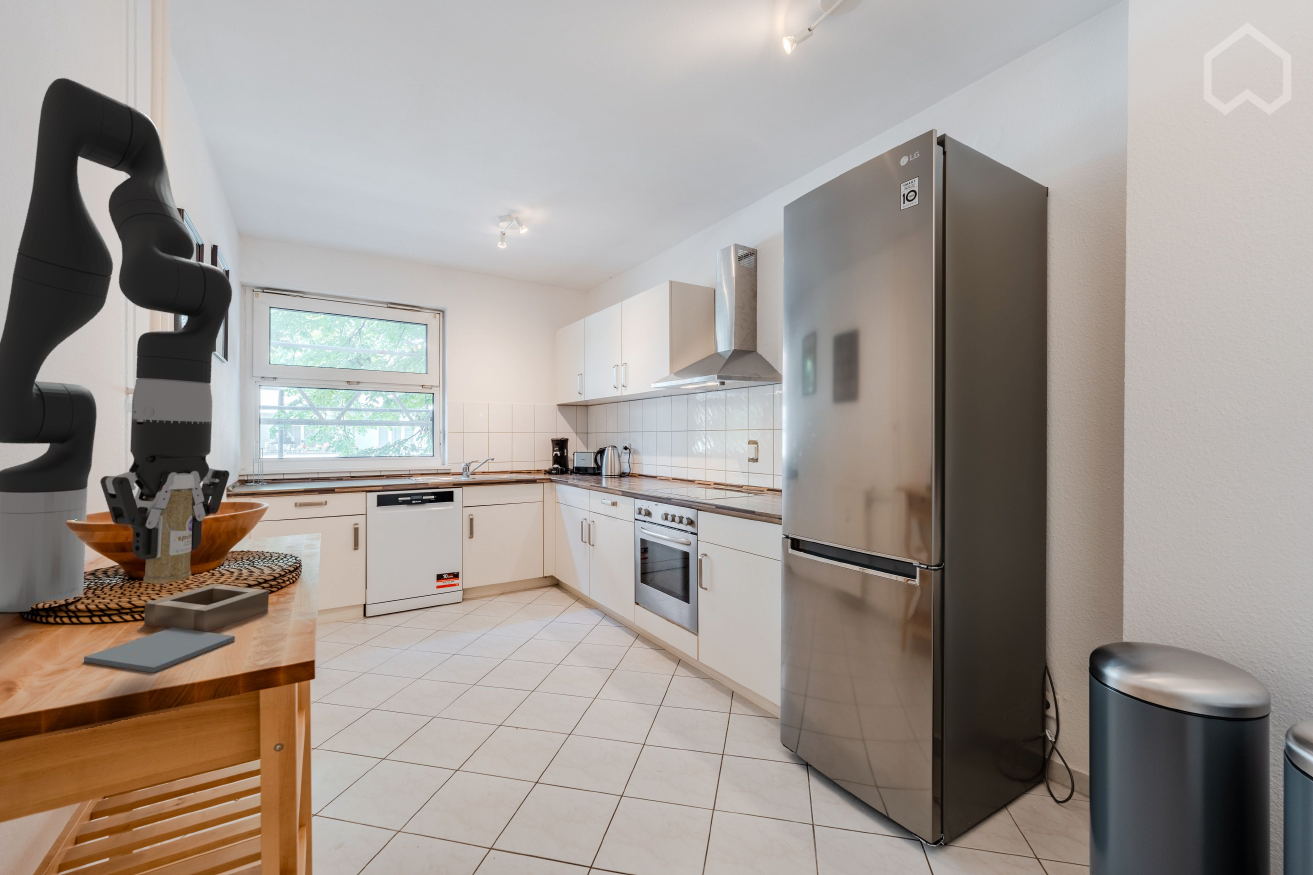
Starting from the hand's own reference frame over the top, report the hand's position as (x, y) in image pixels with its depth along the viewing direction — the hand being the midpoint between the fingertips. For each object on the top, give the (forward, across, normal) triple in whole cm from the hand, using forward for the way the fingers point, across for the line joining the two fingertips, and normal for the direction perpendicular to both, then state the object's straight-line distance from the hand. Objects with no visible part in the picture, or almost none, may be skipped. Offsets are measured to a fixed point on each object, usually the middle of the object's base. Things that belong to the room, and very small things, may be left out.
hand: (167, 553), depth 69 cm
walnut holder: (+12, -11, -6) cm, 17 cm away
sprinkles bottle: (+3, 0, 0) cm, 3 cm away
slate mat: (+12, 0, 0) cm, 12 cm away
